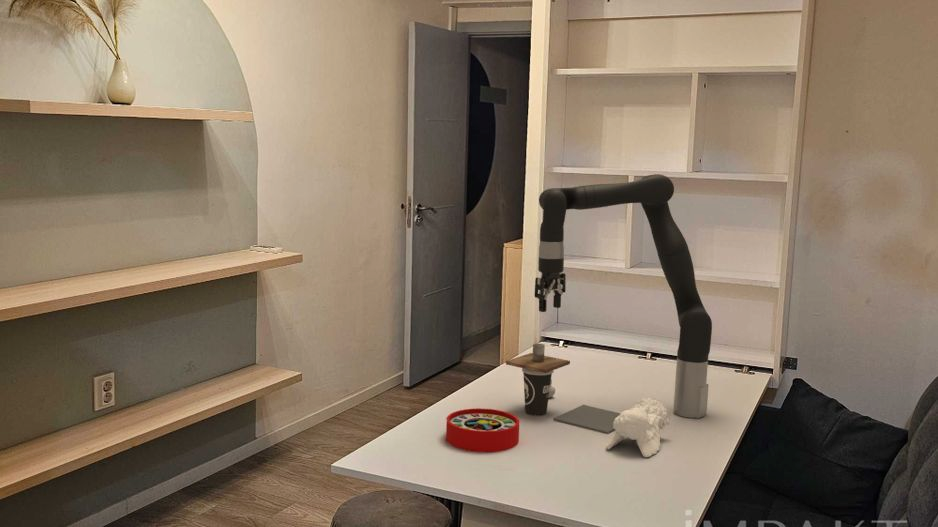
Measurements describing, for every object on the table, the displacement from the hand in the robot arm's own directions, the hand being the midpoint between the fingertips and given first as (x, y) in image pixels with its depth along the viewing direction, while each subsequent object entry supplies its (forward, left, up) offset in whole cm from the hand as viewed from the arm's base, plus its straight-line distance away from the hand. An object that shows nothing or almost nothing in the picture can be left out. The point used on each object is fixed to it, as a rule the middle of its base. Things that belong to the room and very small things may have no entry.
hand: (549, 309), depth 261 cm
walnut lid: (+2, +3, -17) cm, 17 cm away
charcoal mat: (-15, -3, -32) cm, 35 cm away
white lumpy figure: (-35, +8, -32) cm, 48 cm away
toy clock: (0, +33, -32) cm, 46 cm away
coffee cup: (+2, +3, -32) cm, 32 cm away
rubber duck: (+8, -13, -32) cm, 35 cm away
